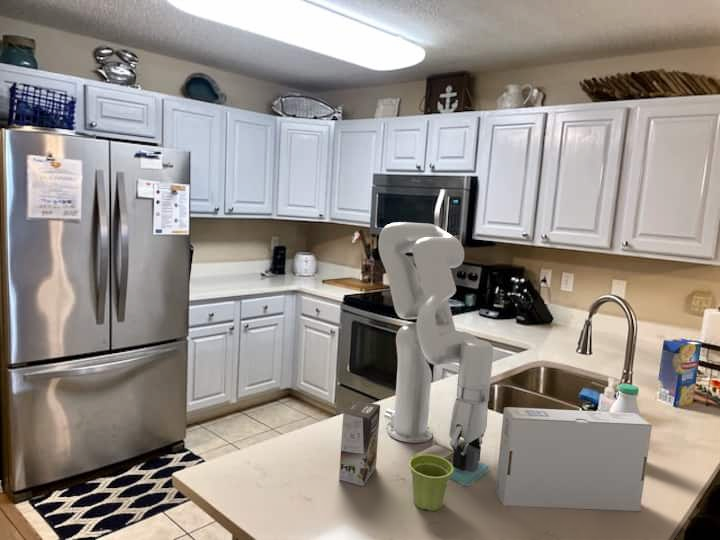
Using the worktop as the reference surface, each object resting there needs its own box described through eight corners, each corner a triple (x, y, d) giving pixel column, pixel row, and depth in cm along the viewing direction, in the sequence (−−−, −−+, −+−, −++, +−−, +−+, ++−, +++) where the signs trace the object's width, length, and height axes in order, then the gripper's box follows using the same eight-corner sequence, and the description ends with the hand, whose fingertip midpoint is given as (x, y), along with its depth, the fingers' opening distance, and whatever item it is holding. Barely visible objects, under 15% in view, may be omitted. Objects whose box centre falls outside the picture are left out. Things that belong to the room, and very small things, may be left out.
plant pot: (459, 508, 107) (462, 470, 106) (425, 521, 102) (428, 481, 101) (430, 486, 115) (433, 451, 114) (397, 497, 110) (400, 460, 109)
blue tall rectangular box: (692, 403, 180) (701, 343, 178) (674, 407, 175) (683, 345, 173) (673, 396, 186) (682, 338, 184) (655, 399, 181) (663, 340, 179)
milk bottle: (599, 457, 135) (608, 385, 132) (608, 448, 140) (617, 378, 138) (630, 468, 130) (641, 393, 127) (639, 458, 135) (649, 387, 133)
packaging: (624, 495, 117) (636, 413, 114) (640, 511, 110) (652, 424, 108) (495, 490, 115) (503, 406, 113) (503, 506, 109) (512, 418, 107)
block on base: (441, 474, 121) (444, 448, 120) (463, 460, 128) (465, 436, 127) (467, 486, 116) (469, 459, 115) (488, 471, 123) (491, 446, 123)
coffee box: (364, 487, 113) (368, 418, 111) (337, 480, 115) (341, 412, 113) (377, 468, 122) (381, 404, 120) (352, 462, 124) (356, 399, 122)
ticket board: (413, 460, 126) (413, 454, 126) (435, 448, 134) (436, 442, 134) (440, 473, 121) (440, 467, 121) (461, 459, 128) (462, 453, 128)
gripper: (477, 380, 128) (470, 447, 131) (439, 396, 116) (433, 470, 118) (504, 388, 123) (497, 458, 126) (468, 406, 111) (461, 483, 113)
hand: (466, 463), depth 122 cm, fingers open, 5 cm apart
